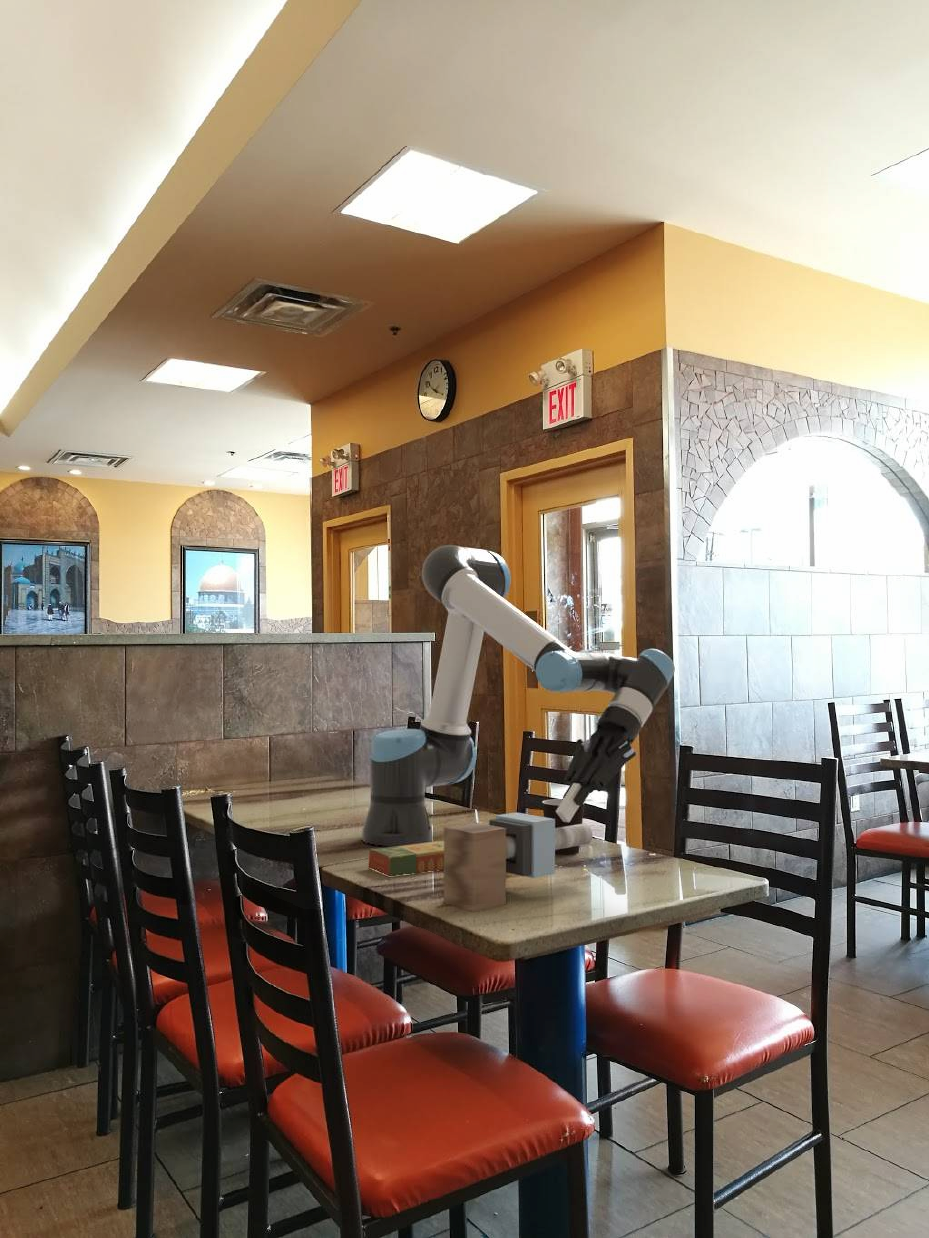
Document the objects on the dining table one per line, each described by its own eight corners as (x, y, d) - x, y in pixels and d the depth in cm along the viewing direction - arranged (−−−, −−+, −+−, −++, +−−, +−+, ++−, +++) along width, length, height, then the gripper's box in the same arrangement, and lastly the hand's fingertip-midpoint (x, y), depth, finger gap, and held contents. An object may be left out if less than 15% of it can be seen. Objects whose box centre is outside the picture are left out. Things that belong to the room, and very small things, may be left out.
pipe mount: (443, 902, 152) (444, 827, 152) (569, 875, 171) (570, 808, 172) (473, 911, 146) (473, 833, 147) (599, 882, 166) (599, 813, 167)
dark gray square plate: (489, 867, 159) (489, 819, 159) (497, 866, 160) (497, 818, 161) (522, 876, 153) (523, 826, 153) (531, 874, 154) (531, 824, 155)
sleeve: (495, 868, 161) (495, 815, 161) (516, 864, 164) (516, 812, 164) (533, 878, 154) (534, 822, 154) (554, 873, 157) (555, 819, 158)
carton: (465, 869, 178) (465, 846, 178) (389, 880, 169) (389, 855, 169) (441, 861, 185) (442, 839, 185) (368, 870, 176) (368, 847, 176)
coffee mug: (582, 856, 188) (582, 806, 189) (539, 854, 190) (539, 804, 190) (587, 845, 200) (587, 798, 200) (546, 843, 201) (546, 796, 202)
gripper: (661, 733, 174) (600, 835, 162) (606, 729, 184) (546, 825, 172) (642, 705, 171) (579, 807, 159) (588, 702, 181) (525, 798, 169)
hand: (562, 816), depth 166 cm, fingers closed
